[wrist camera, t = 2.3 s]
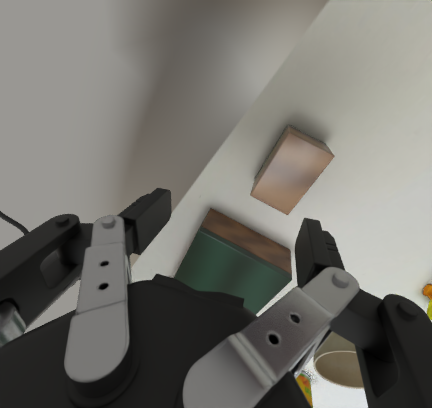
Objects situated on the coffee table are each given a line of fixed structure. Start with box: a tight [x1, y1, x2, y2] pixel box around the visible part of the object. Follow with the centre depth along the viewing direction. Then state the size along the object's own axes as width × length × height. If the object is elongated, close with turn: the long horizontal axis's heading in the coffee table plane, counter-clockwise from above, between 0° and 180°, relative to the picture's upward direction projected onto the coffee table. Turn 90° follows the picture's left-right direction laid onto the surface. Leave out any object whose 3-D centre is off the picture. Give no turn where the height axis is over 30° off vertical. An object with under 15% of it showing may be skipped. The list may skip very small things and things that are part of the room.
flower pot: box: [314, 332, 364, 389], centre depth 35 cm, size 10×10×7 cm
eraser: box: [250, 125, 334, 215], centre depth 25 cm, size 8×5×5 cm, turn 156°
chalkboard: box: [174, 208, 292, 315], centre depth 38 cm, size 14×26×6 cm, turn 156°
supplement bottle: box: [296, 371, 313, 408], centre depth 45 cm, size 5×5×10 cm
